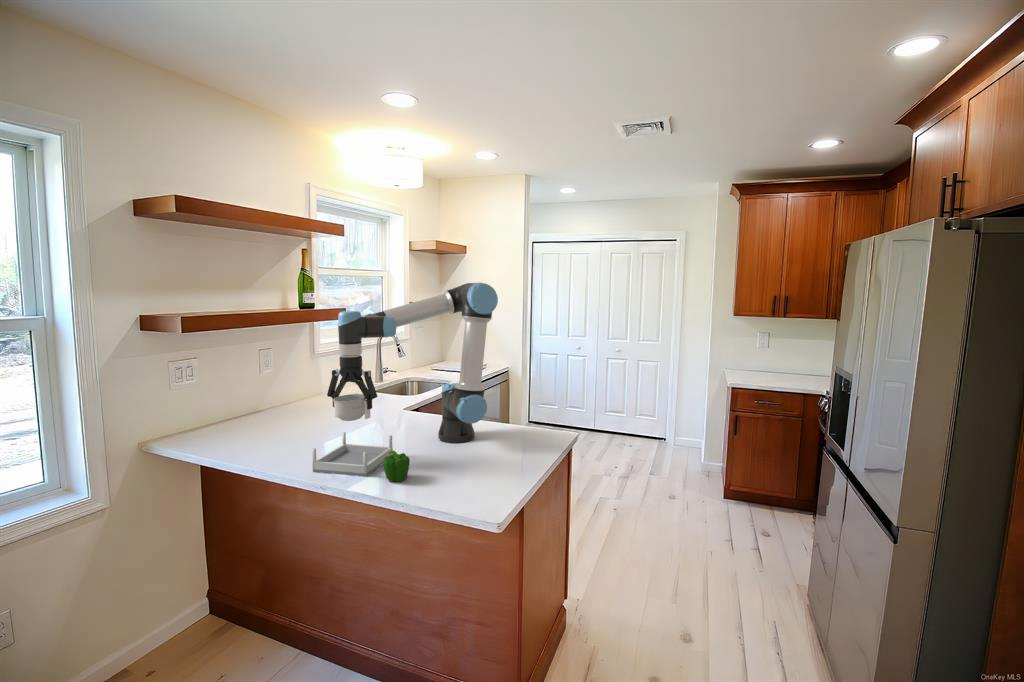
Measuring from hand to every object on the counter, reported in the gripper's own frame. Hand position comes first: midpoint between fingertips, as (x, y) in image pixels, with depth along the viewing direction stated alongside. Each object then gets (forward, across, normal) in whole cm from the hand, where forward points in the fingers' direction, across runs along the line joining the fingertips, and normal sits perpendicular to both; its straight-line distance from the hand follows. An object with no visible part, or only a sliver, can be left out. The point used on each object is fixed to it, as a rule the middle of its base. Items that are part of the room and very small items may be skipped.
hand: (352, 417), depth 176 cm
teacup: (0, 0, 0) cm, 0 cm away
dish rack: (+17, 0, 0) cm, 17 cm away
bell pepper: (+17, -21, +10) cm, 29 cm away
